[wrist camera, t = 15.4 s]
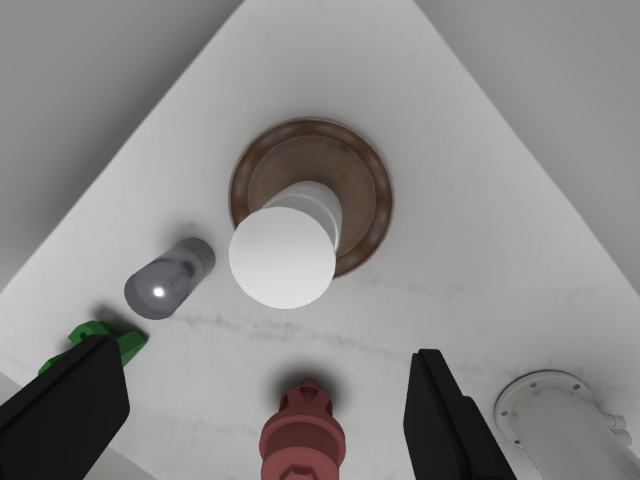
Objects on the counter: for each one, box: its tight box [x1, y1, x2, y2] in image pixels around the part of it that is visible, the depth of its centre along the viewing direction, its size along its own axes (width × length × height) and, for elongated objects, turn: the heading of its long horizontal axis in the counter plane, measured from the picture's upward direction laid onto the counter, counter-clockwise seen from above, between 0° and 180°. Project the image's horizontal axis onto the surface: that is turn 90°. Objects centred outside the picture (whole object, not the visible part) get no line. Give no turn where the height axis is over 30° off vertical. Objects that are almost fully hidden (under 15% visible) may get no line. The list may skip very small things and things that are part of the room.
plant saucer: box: [228, 118, 394, 280], centre depth 36 cm, size 18×18×3 cm
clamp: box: [38, 320, 147, 375], centre depth 41 cm, size 12×6×9 cm, turn 129°
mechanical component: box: [259, 378, 346, 480], centre depth 39 cm, size 12×10×10 cm
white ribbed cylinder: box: [229, 181, 342, 309], centre depth 27 cm, size 7×7×15 cm
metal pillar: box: [124, 238, 215, 320], centre depth 35 cm, size 5×5×10 cm
